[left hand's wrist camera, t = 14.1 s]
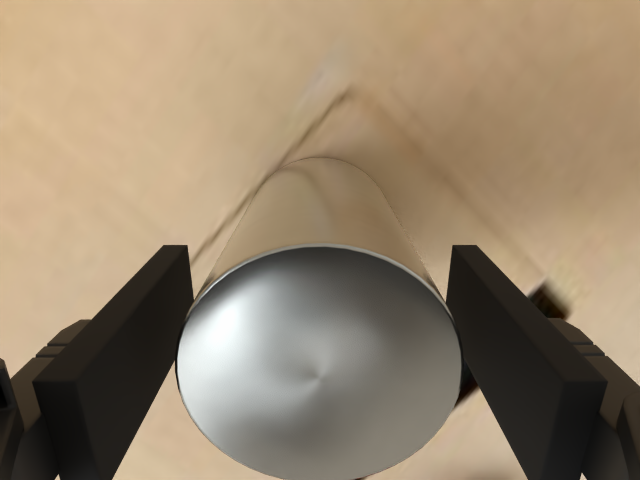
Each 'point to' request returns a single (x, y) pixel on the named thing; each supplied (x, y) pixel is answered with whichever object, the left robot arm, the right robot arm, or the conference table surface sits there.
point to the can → (319, 333)
